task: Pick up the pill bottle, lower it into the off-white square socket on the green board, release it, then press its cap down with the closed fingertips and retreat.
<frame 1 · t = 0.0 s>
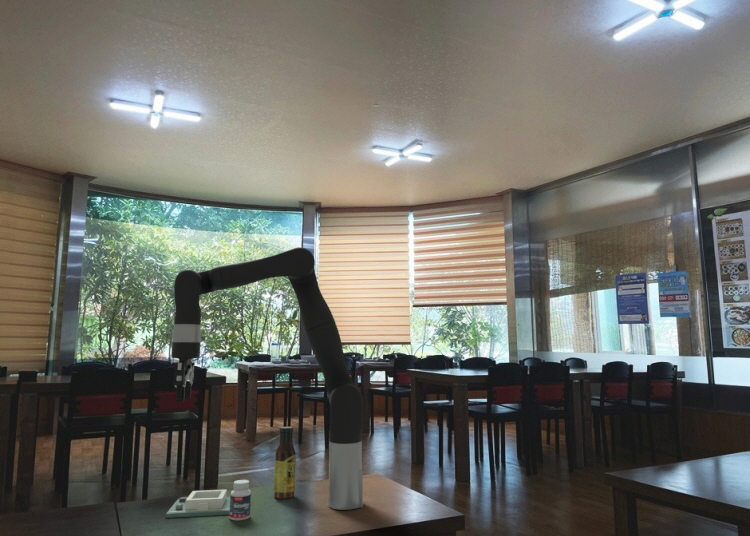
hand: (183, 400, 139), 29 cm above the table, fingers open, 8 cm apart
board: (206, 508, 139), on the table
pill bottle: (239, 518, 131), on the table
sauce bottle: (284, 497, 150), on the table
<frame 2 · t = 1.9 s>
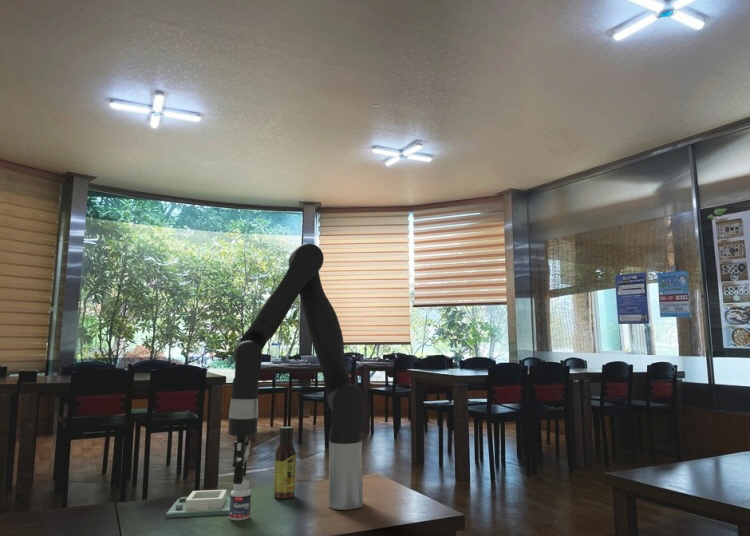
hand: (239, 479, 133), 9 cm above the table, fingers open, 8 cm apart
nothing on the table moved.
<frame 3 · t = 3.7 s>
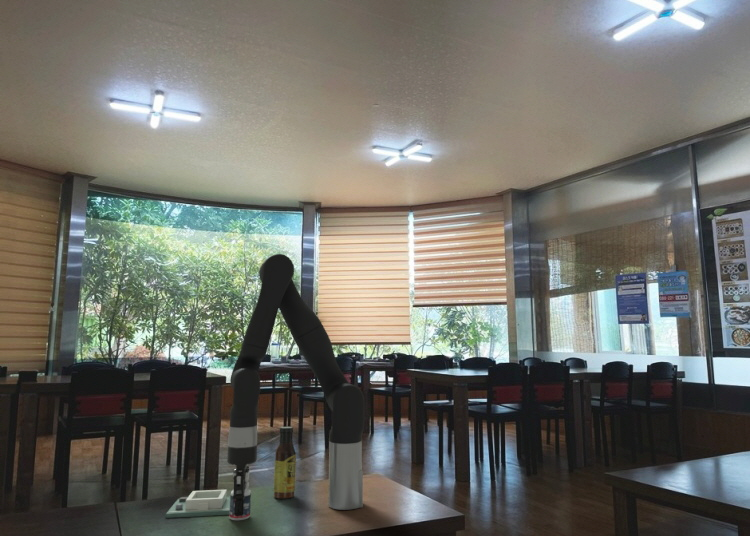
hand: (240, 511, 131), 1 cm above the table, fingers closed on pill bottle, 5 cm apart
pill bottle: (239, 518, 131), on the table, touching gripper
everything else where it was.
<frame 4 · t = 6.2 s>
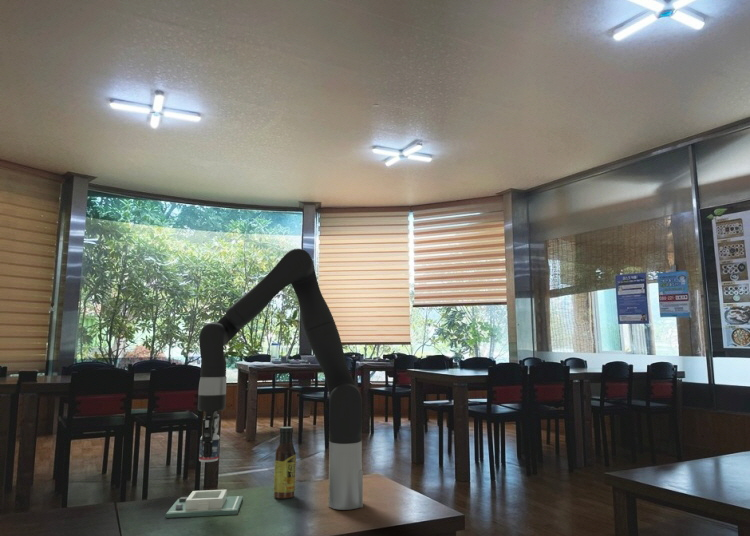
hand: (209, 454, 142), 14 cm above the table, fingers closed on pill bottle, 5 cm apart
pill bottle: (208, 461, 141), point 12 cm above the table, touching gripper
everything else where it was.
when the fingers open (4 cm above the table, at t = 8.7 s): pill bottle drops 1 cm, resting on board.
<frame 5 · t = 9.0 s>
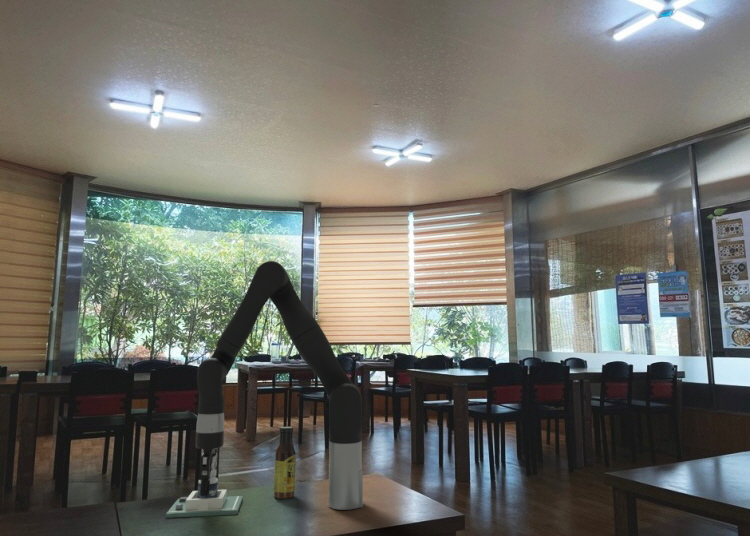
hand: (207, 491, 140), 4 cm above the table, fingers open, 7 cm apart
pill bottle: (206, 504, 140), point 1 cm above the table, touching board
everything else where it was.
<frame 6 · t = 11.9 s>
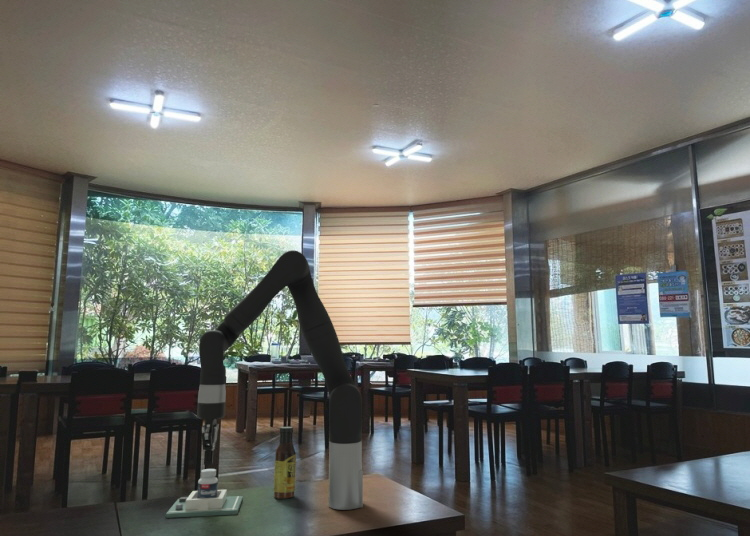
hand: (208, 464, 141), 11 cm above the table, fingers closed
nothing on the table moved.
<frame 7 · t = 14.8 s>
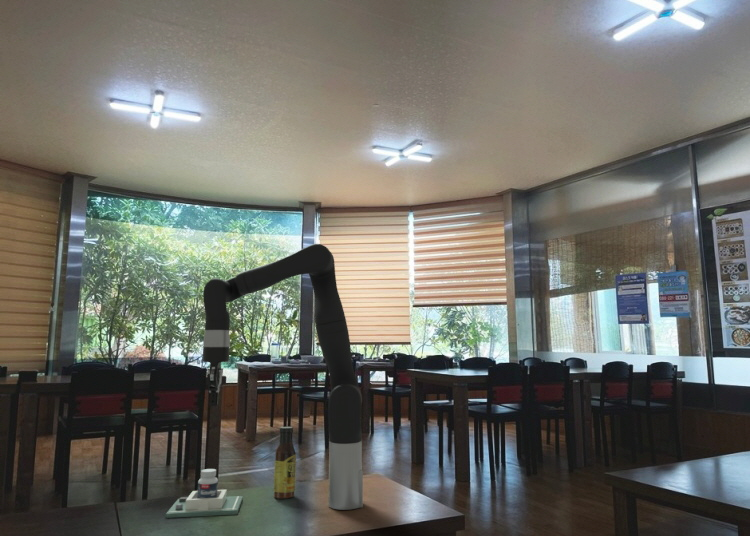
hand: (213, 405, 148), 27 cm above the table, fingers closed
nothing on the table moved.
at the end: pill bottle 0.1 cm from the board (horizontally); pill bottle point 0.8 cm above the table; pill bottle tilted 0° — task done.
